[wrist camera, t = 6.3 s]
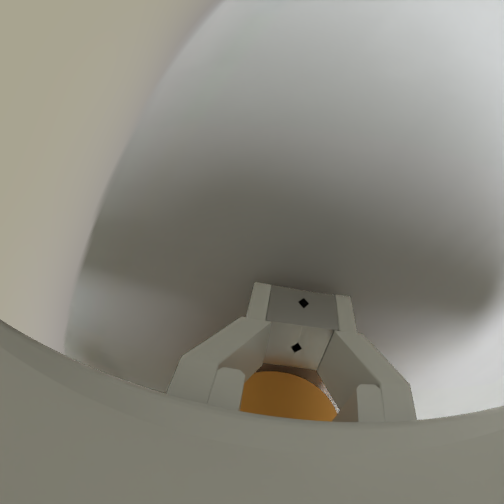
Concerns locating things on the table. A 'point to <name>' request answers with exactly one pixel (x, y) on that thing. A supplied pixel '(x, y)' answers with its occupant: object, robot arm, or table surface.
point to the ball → (285, 397)
